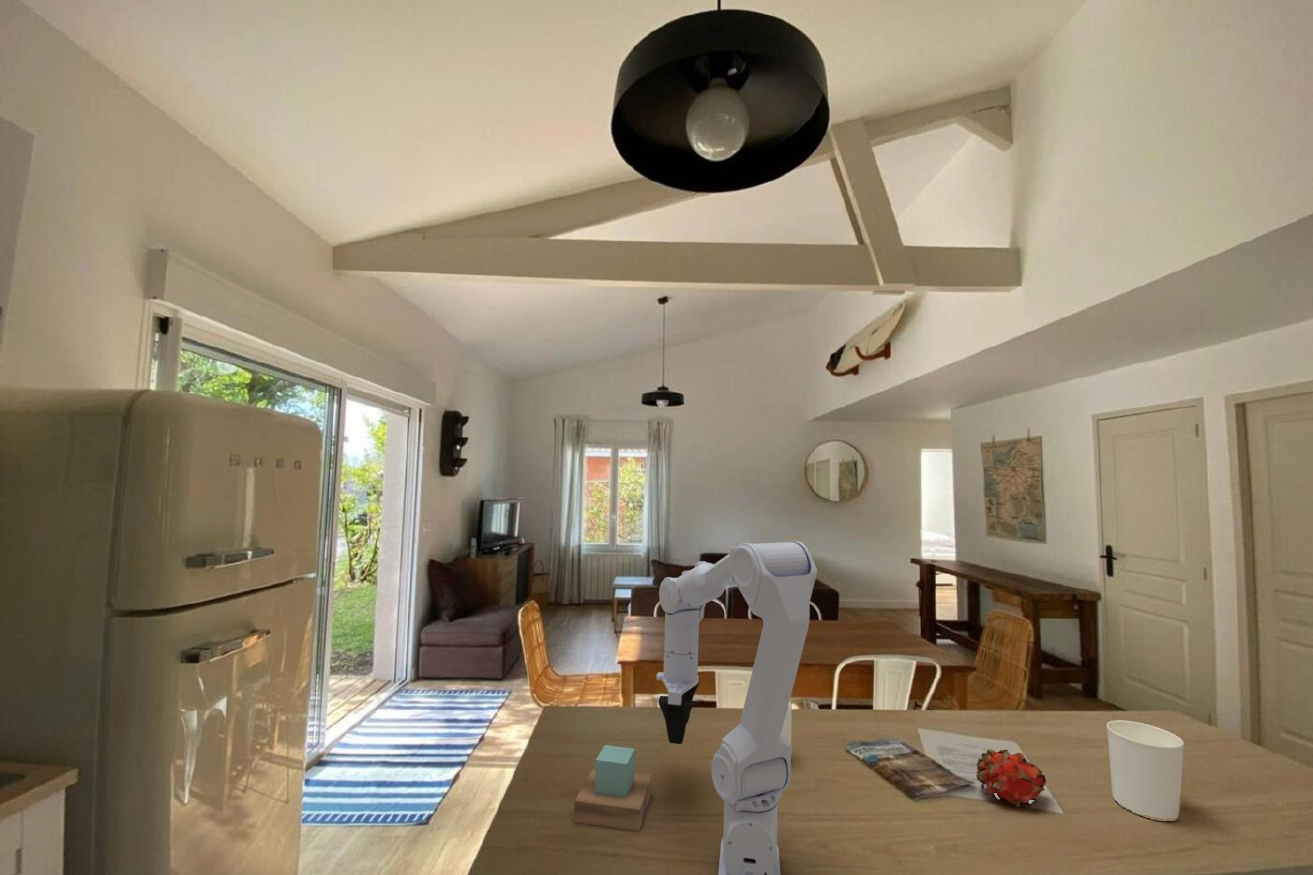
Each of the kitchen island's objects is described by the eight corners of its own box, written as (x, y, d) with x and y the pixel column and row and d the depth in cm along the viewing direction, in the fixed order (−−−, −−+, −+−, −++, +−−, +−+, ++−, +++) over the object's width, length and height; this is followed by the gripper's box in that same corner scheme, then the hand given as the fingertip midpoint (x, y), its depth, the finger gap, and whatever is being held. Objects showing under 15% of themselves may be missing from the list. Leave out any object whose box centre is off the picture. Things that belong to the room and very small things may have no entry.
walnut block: (639, 834, 85) (639, 809, 86) (573, 825, 87) (574, 801, 87) (651, 796, 95) (651, 774, 95) (592, 789, 97) (593, 767, 97)
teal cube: (626, 797, 89) (627, 764, 89) (594, 793, 90) (595, 759, 90) (633, 780, 93) (634, 748, 94) (603, 776, 94) (604, 744, 95)
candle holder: (1155, 829, 89) (1154, 749, 90) (1092, 794, 99) (1091, 722, 100) (1201, 821, 92) (1199, 743, 93) (1135, 787, 101) (1134, 717, 102)
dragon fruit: (968, 805, 97) (1037, 816, 98) (998, 798, 91) (1072, 810, 91) (958, 749, 103) (1023, 760, 103) (985, 738, 96) (1055, 750, 97)
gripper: (664, 635, 106) (662, 712, 105) (650, 661, 91) (647, 749, 91) (703, 638, 104) (701, 715, 104) (694, 665, 90) (692, 754, 89)
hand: (679, 732), depth 97 cm, fingers open, 7 cm apart
